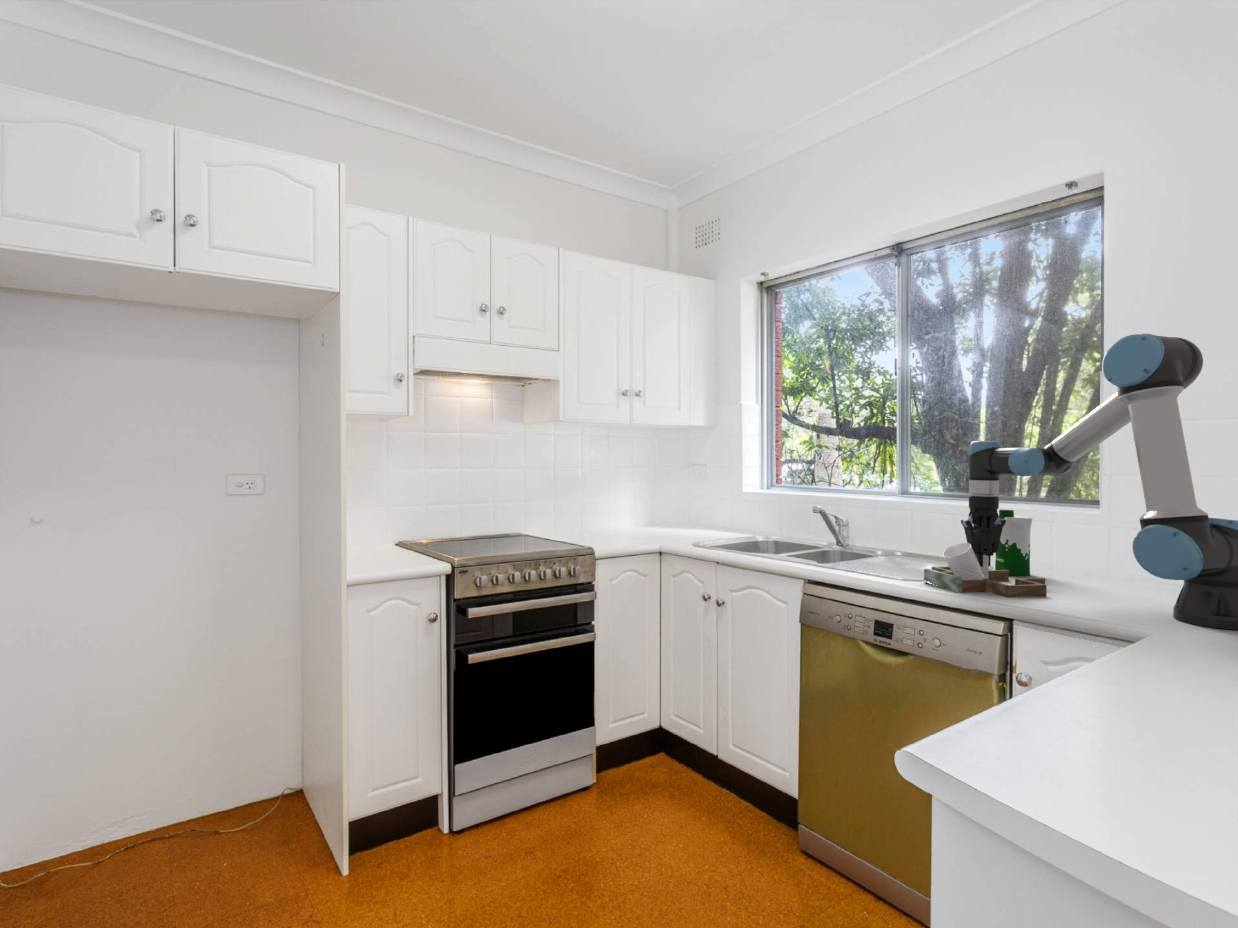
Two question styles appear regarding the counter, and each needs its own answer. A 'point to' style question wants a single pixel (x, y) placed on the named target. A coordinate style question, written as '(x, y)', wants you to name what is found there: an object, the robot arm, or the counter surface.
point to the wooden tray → (987, 583)
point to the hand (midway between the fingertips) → (982, 577)
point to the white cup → (963, 562)
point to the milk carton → (1014, 544)
